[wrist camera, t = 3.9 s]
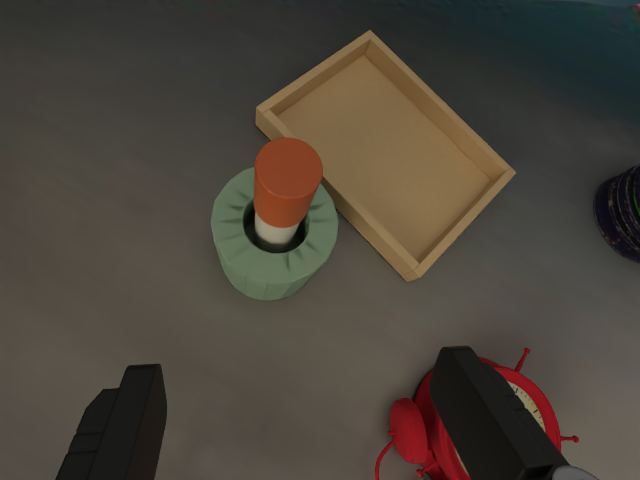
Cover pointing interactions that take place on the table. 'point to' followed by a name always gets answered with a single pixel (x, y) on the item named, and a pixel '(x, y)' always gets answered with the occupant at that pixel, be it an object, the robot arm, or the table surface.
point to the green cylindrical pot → (260, 266)
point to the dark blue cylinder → (620, 212)
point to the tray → (388, 152)
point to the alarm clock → (432, 438)
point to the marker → (283, 191)
